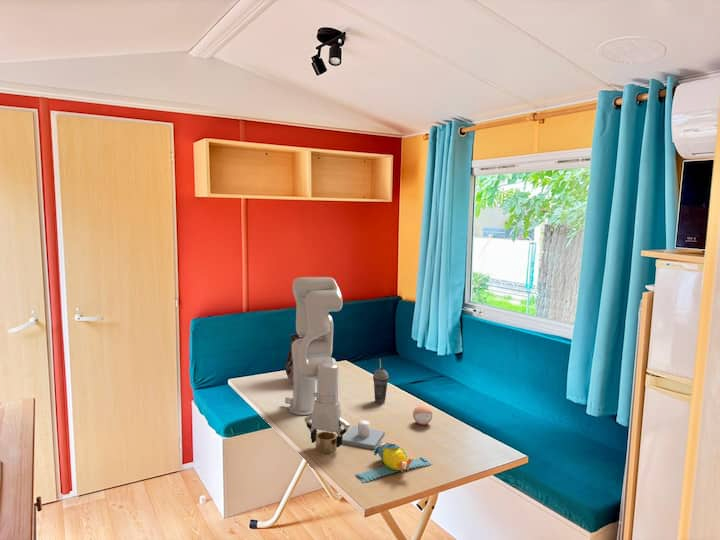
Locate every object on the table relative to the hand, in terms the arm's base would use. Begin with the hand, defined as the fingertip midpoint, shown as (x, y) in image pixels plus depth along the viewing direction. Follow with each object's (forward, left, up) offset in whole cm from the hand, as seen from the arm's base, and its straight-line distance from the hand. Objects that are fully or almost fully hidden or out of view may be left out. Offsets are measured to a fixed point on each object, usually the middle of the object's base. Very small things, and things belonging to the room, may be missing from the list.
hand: (326, 443), depth 181 cm
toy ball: (+28, +36, -3) cm, 46 cm away
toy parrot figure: (+26, -3, -3) cm, 26 cm away
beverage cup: (+5, +52, -3) cm, 53 cm away
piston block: (+10, +13, -2) cm, 17 cm away
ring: (0, 0, -2) cm, 2 cm away
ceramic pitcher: (-37, +63, -3) cm, 73 cm away
